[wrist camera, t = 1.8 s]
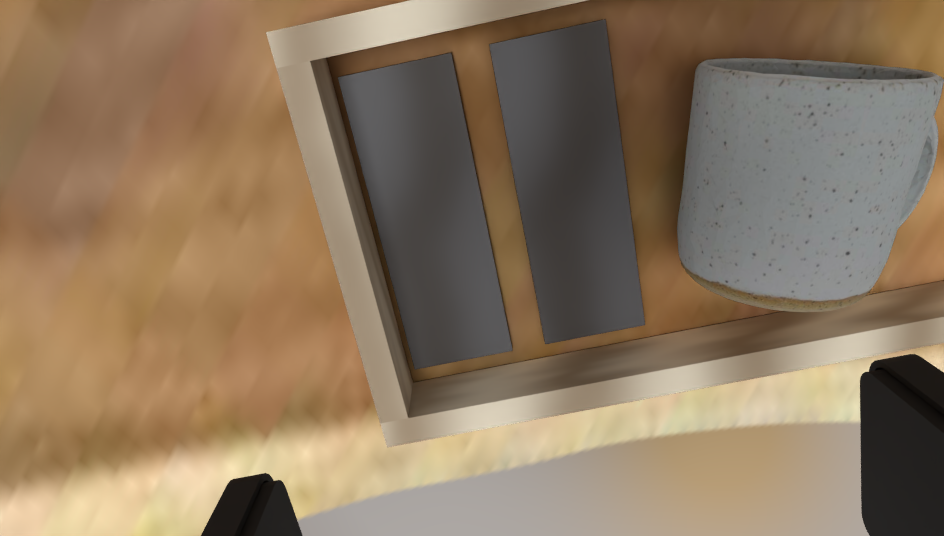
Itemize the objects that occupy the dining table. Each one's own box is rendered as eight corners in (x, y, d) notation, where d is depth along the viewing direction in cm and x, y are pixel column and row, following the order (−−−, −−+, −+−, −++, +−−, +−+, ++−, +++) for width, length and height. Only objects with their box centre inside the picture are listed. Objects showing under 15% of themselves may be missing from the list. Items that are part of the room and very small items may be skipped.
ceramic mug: (649, 255, 29) (717, 329, 22) (668, 57, 26) (752, 67, 19) (888, 252, 29) (1033, 325, 22) (931, 57, 27) (1112, 67, 19)
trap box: (1146, -159, 24) (1238, -184, 21) (1096, 275, 30) (1163, 301, 27) (287, 32, 26) (266, 32, 23) (393, 409, 31) (387, 447, 28)
